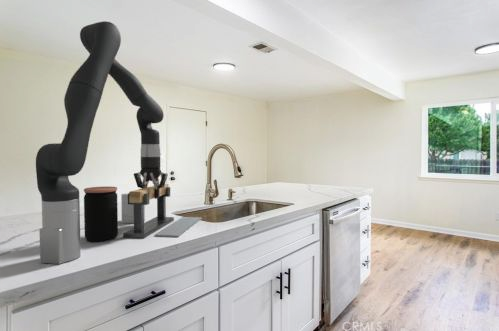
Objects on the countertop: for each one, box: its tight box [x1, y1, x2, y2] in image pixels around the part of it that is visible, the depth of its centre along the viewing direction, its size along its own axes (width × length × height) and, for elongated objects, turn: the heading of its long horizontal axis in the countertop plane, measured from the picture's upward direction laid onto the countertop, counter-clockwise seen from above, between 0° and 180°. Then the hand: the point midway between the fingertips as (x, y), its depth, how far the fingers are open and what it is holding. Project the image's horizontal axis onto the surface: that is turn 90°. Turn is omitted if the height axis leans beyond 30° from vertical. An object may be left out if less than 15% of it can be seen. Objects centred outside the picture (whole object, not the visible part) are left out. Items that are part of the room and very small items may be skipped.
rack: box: [122, 186, 175, 239], centre depth 121 cm, size 28×8×16 cm, turn 173°
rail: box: [128, 183, 169, 203], centre depth 120 cm, size 26×4×4 cm, turn 173°
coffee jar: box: [83, 186, 119, 243], centre depth 106 cm, size 11×11×18 cm
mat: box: [154, 216, 202, 238], centre depth 124 cm, size 30×9×1 cm, turn 173°
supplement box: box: [120, 192, 146, 224], centre depth 132 cm, size 7×7×13 cm
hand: (151, 198), depth 120 cm, fingers closed on rail, 4 cm apart
